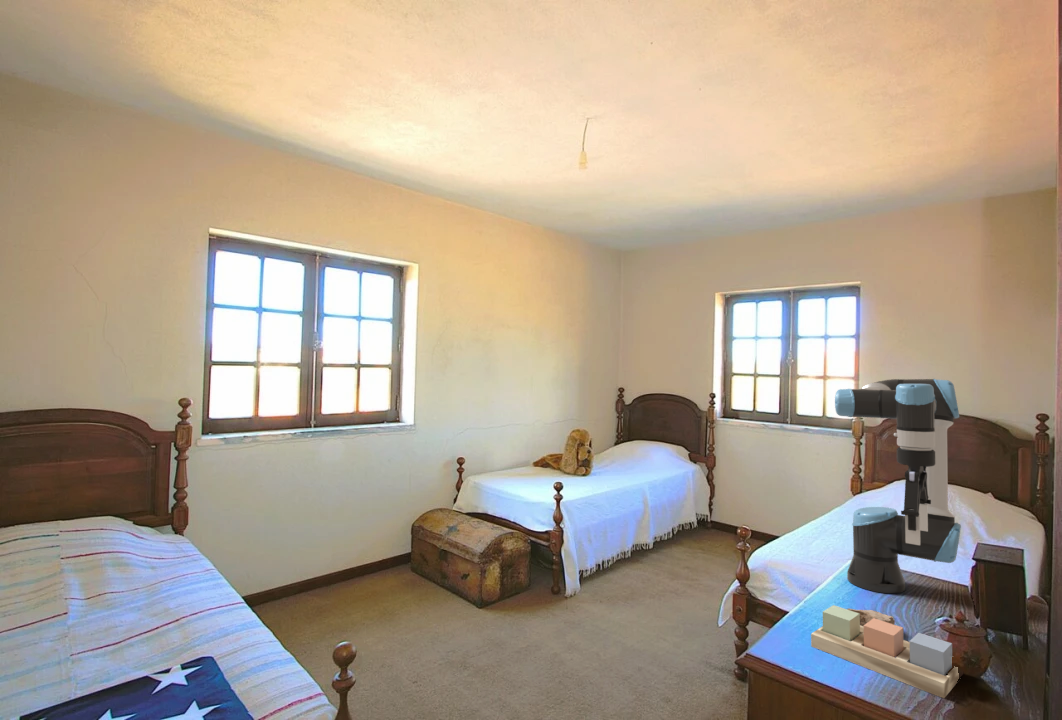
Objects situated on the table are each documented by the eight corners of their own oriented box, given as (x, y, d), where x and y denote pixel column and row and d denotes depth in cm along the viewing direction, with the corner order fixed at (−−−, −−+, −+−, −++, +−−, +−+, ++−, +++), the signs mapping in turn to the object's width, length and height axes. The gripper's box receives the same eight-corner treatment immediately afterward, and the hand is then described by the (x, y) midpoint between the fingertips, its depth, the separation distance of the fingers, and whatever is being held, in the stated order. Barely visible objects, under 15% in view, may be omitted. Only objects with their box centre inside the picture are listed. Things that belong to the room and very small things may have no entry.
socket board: (836, 629, 136) (836, 617, 136) (963, 674, 116) (963, 660, 116) (811, 646, 128) (811, 633, 128) (944, 698, 107) (943, 683, 107)
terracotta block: (873, 639, 126) (873, 618, 126) (903, 649, 121) (903, 627, 122) (863, 647, 122) (863, 625, 123) (894, 658, 118) (893, 635, 118)
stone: (886, 641, 130) (885, 621, 130) (839, 623, 140) (839, 604, 140) (904, 633, 135) (904, 613, 135) (858, 615, 145) (858, 597, 145)
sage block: (833, 625, 133) (833, 605, 133) (859, 634, 128) (859, 613, 129) (822, 632, 130) (822, 611, 130) (849, 642, 125) (849, 620, 125)
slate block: (919, 655, 119) (918, 632, 119) (952, 666, 114) (952, 643, 114) (909, 664, 115) (909, 641, 115) (943, 676, 111) (943, 652, 111)
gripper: (904, 440, 139) (906, 522, 139) (887, 452, 121) (889, 546, 121) (940, 443, 134) (942, 527, 134) (928, 456, 116) (930, 554, 116)
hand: (917, 536), depth 127 cm, fingers open, 13 cm apart
